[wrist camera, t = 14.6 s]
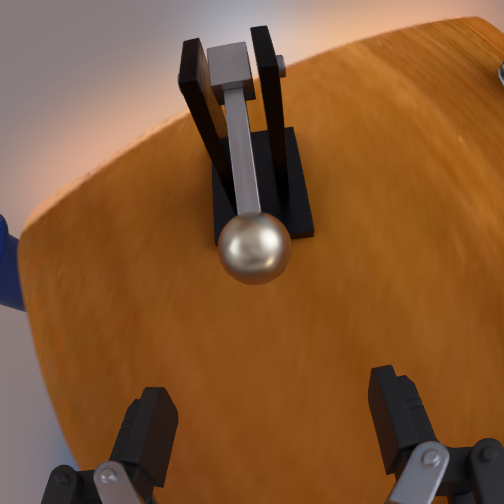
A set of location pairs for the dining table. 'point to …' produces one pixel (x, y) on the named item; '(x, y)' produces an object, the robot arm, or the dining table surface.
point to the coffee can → (501, 73)
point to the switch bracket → (264, 142)
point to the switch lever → (245, 178)
